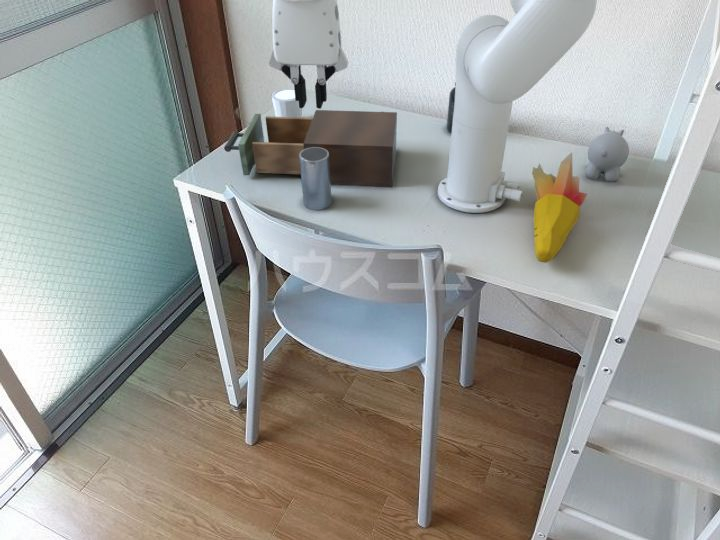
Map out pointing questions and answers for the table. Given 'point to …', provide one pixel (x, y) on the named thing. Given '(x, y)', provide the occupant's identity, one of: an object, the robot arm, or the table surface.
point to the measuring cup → (315, 178)
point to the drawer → (271, 144)
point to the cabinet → (356, 145)
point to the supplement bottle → (451, 109)
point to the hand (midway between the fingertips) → (311, 104)
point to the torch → (555, 208)
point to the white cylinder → (286, 103)
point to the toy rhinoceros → (607, 155)
